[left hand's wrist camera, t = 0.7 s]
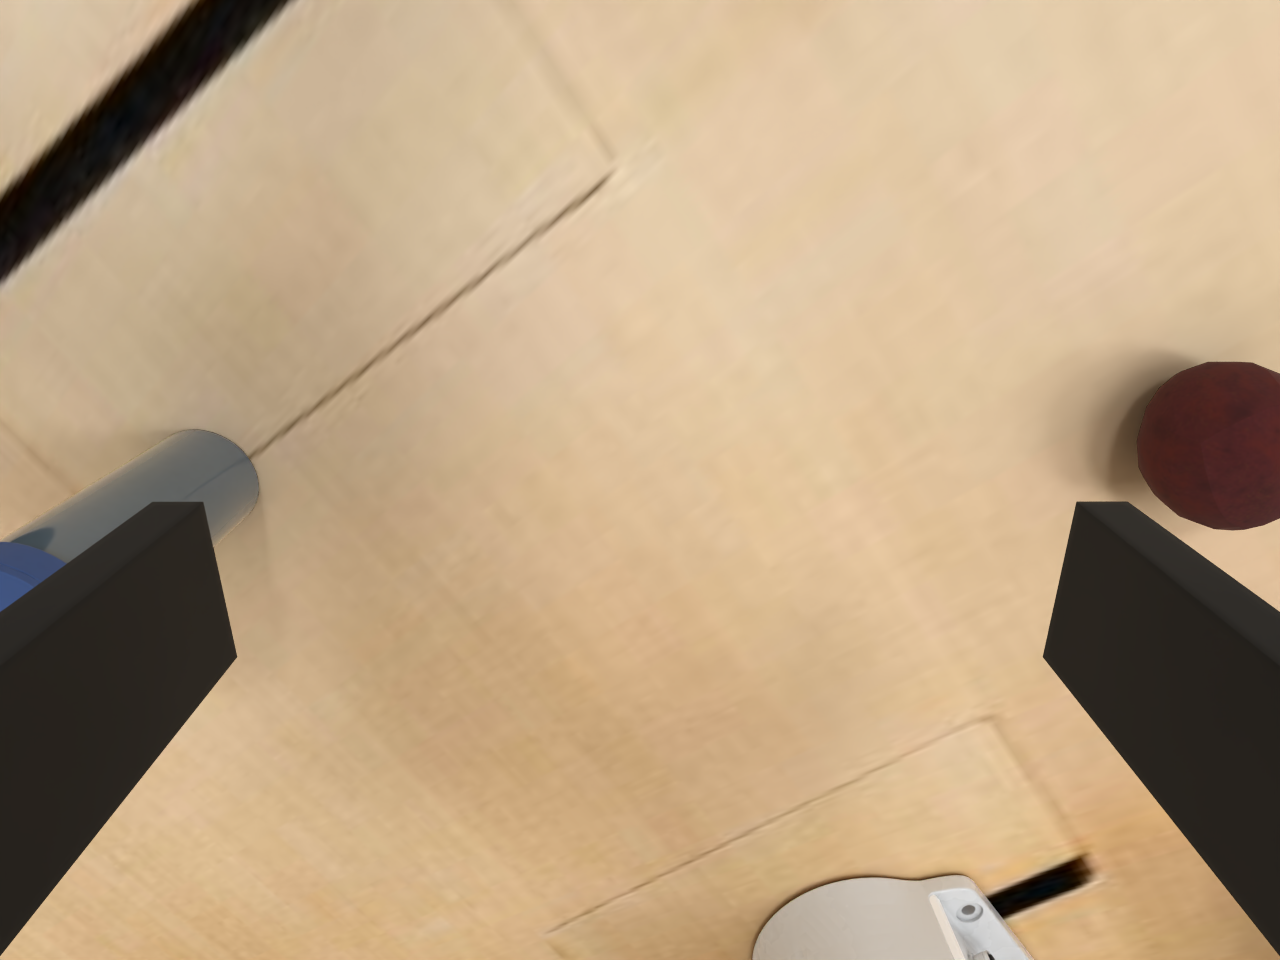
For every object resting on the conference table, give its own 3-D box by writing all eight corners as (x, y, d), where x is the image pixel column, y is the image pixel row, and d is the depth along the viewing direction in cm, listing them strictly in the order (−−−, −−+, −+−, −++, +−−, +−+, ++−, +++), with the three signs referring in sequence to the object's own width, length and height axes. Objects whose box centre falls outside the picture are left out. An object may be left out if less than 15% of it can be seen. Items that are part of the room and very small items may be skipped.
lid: (-78, 650, 30) (-119, 678, 29) (-51, 512, 28) (-93, 535, 27) (91, 711, 31) (61, 742, 30) (130, 583, 29) (100, 609, 28)
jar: (140, 501, 43) (-95, 667, 29) (166, 411, 41) (-71, 543, 27) (242, 543, 44) (61, 723, 30) (272, 457, 42) (94, 607, 28)
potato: (1139, 516, 43) (1229, 582, 36) (1081, 397, 40) (1166, 444, 34) (1279, 442, 41) (1399, 497, 35) (1228, 313, 39) (1347, 347, 32)
